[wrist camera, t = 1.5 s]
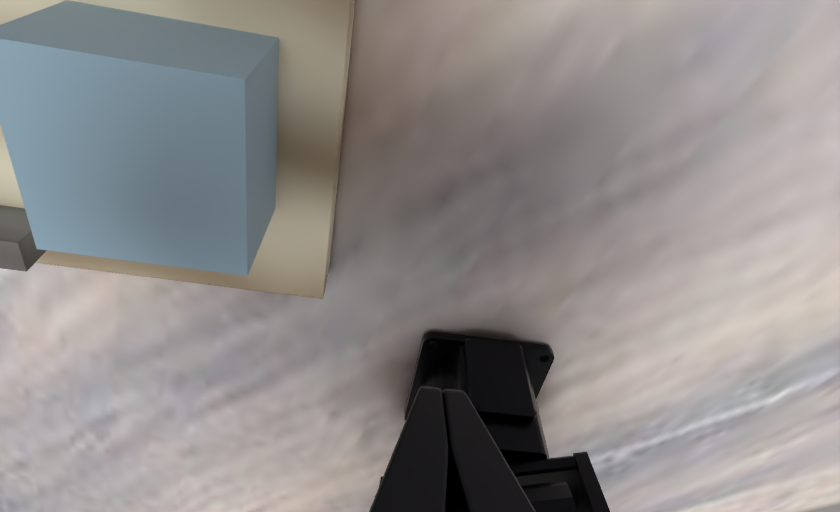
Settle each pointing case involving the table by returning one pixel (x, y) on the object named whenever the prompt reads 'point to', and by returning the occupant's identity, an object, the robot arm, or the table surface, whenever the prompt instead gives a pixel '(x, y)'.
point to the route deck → (295, 158)
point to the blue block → (141, 135)
